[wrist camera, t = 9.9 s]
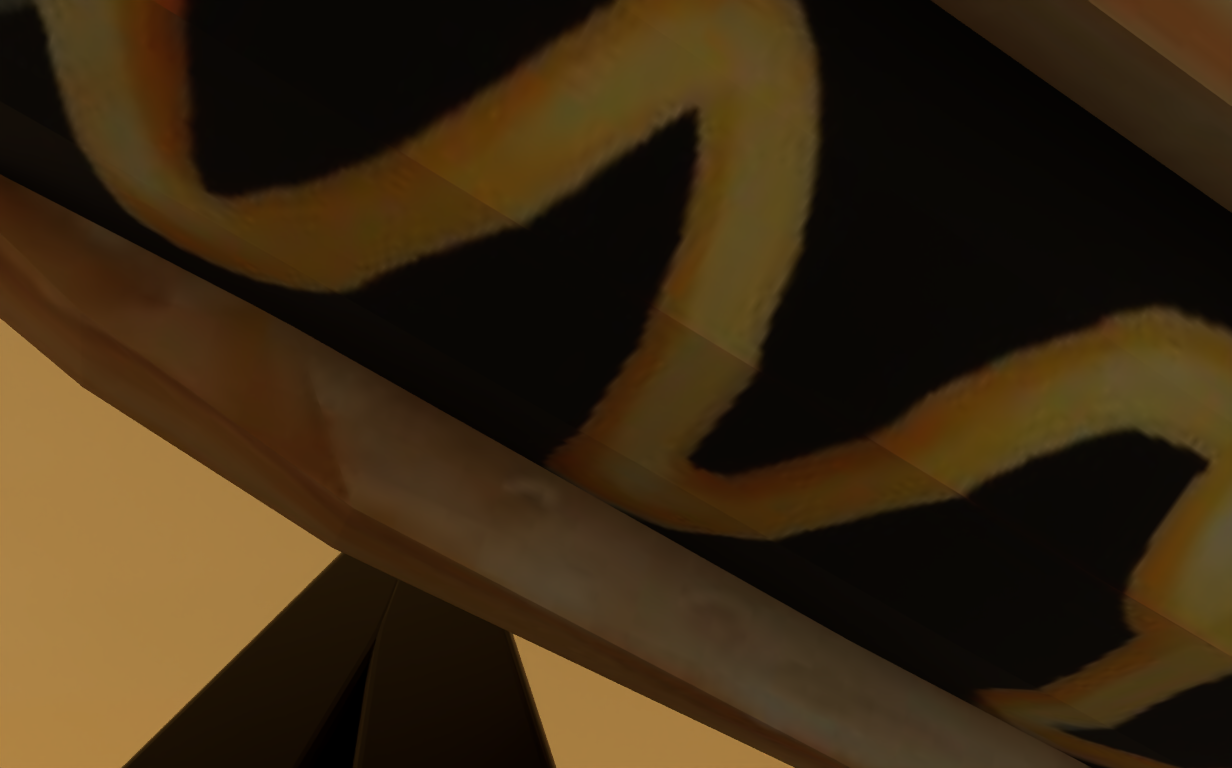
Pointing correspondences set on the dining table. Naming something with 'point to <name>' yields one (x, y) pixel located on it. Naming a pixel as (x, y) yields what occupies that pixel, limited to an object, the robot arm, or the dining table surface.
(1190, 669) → the hot dog
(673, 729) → the dining table surface
